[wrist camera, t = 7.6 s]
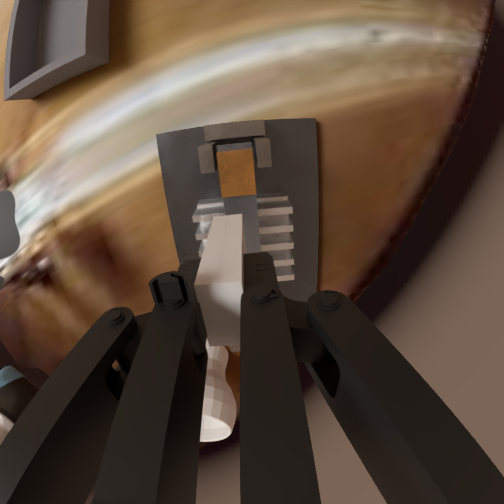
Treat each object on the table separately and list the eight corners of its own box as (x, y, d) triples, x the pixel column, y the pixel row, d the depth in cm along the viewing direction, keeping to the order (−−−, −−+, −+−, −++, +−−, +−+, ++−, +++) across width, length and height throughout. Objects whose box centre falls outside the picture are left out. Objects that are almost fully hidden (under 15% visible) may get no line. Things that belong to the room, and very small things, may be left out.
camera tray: (33, 99, 24) (4, 100, 19) (41, -7, 15) (18, -15, 9) (111, 63, 24) (85, 54, 18) (116, -45, 15) (99, -63, 9)
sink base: (314, 303, 40) (328, 347, 32) (194, 313, 40) (185, 358, 32) (313, 118, 28) (338, 117, 20) (159, 134, 29) (128, 139, 20)
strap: (266, 331, 34) (267, 341, 32) (243, 332, 34) (243, 343, 32) (251, 141, 23) (251, 143, 21) (217, 144, 23) (215, 147, 21)
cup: (235, 331, 42) (233, 412, 28) (238, 372, 47) (238, 444, 33) (170, 330, 42) (149, 407, 28) (181, 371, 46) (169, 439, 33)
